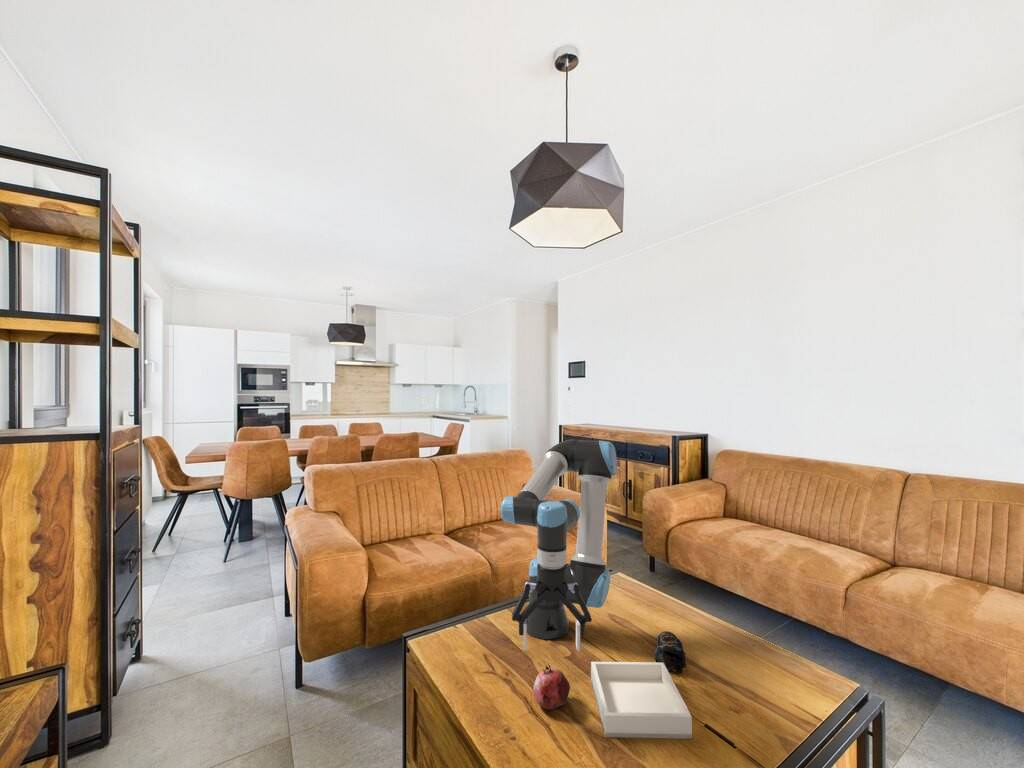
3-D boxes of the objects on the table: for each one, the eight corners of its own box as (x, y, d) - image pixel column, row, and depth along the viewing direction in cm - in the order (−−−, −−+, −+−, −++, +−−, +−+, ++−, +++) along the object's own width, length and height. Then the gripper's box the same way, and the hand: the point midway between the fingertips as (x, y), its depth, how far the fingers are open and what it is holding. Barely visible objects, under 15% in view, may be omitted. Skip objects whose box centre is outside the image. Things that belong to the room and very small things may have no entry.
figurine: (651, 653, 124) (652, 620, 138) (659, 680, 124) (659, 645, 138) (682, 651, 121) (680, 618, 135) (691, 679, 121) (688, 643, 135)
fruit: (577, 704, 112) (577, 665, 112) (551, 723, 105) (552, 681, 105) (551, 686, 118) (551, 649, 119) (525, 703, 112) (526, 664, 112)
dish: (605, 737, 101) (605, 715, 101) (591, 679, 121) (591, 661, 121) (691, 738, 101) (691, 716, 101) (663, 680, 121) (663, 662, 121)
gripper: (502, 569, 109) (502, 655, 108) (603, 570, 108) (602, 657, 108) (503, 557, 116) (503, 638, 116) (597, 559, 116) (597, 640, 115)
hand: (551, 647), depth 112 cm, fingers open, 13 cm apart
